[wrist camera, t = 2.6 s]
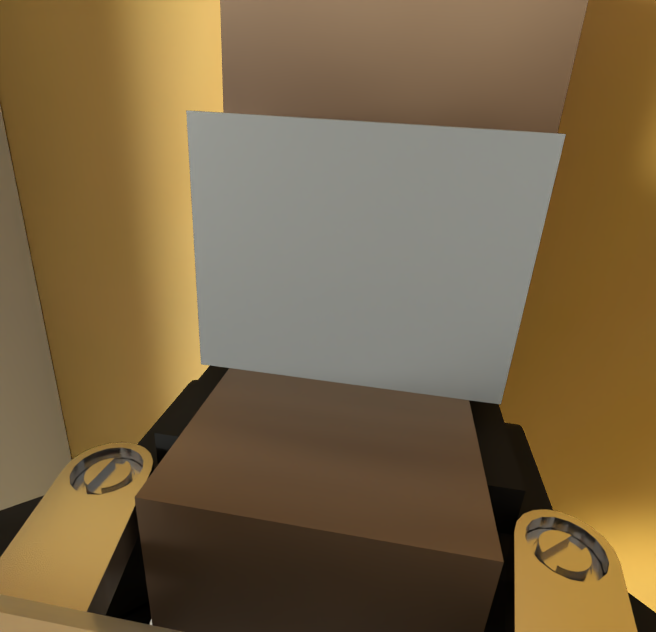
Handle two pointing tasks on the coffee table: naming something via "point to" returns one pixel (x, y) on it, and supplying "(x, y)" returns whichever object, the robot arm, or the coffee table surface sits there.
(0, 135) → the dock
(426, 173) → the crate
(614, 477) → the coffee table surface
